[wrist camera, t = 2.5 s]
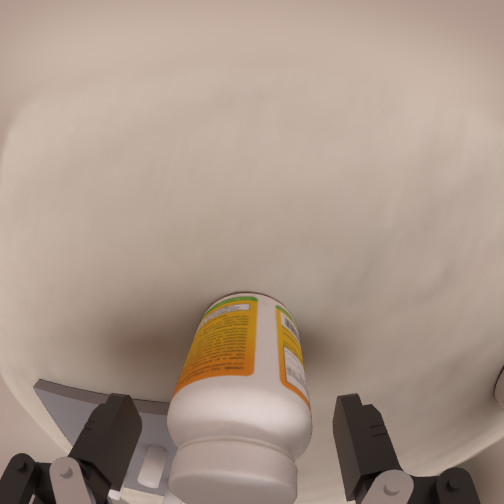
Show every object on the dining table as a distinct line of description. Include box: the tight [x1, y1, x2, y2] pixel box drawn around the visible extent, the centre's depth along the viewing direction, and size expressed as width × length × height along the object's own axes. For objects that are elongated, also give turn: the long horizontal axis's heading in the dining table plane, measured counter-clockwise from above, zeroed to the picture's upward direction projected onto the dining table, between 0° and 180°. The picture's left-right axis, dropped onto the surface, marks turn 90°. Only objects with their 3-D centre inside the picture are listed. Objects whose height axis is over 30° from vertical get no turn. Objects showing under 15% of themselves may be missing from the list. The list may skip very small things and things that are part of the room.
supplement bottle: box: [167, 293, 312, 504], centre depth 11 cm, size 5×5×10 cm
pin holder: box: [33, 379, 182, 504], centre depth 18 cm, size 16×16×5 cm
